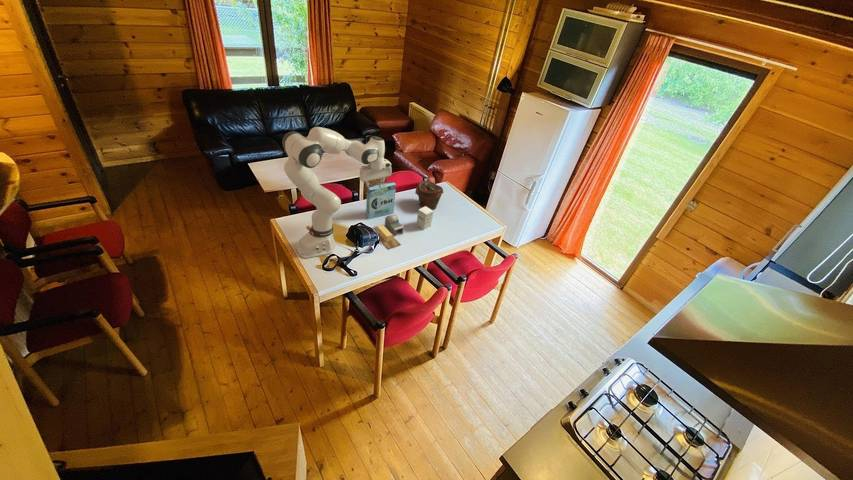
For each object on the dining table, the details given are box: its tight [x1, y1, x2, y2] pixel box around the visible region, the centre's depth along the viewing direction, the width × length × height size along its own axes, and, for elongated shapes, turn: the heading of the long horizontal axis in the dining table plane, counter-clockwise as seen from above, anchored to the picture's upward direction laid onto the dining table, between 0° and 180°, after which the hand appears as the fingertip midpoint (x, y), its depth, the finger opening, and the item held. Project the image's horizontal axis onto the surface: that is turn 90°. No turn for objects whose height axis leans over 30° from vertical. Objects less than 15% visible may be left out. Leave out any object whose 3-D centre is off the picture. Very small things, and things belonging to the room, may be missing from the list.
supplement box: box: [415, 206, 434, 230], centre depth 244 cm, size 7×7×13 cm
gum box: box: [365, 181, 397, 220], centre depth 244 cm, size 20×5×23 cm, turn 123°
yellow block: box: [376, 224, 393, 242], centre depth 231 cm, size 12×4×4 cm, turn 36°
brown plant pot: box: [414, 180, 444, 211], centre depth 262 cm, size 18×20×18 cm
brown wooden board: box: [377, 232, 402, 250], centre depth 230 cm, size 9×16×1 cm, turn 36°
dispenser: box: [384, 213, 404, 237], centre depth 236 cm, size 12×7×10 cm, turn 36°
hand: (375, 184), depth 221 cm, fingers open, 8 cm apart
